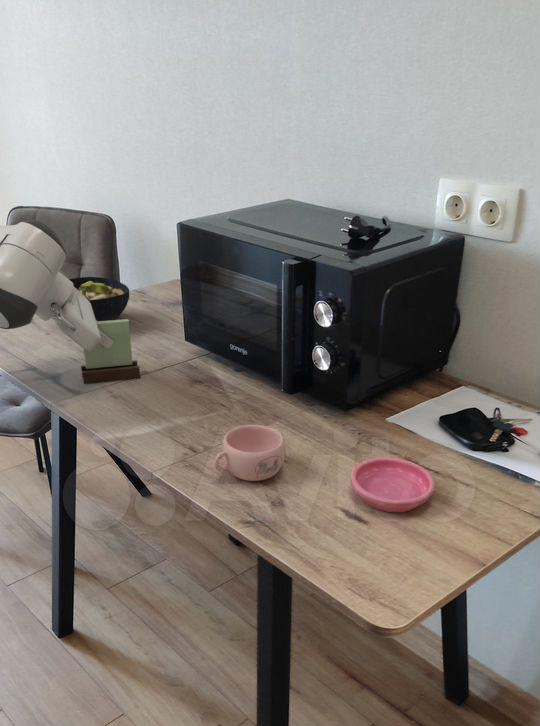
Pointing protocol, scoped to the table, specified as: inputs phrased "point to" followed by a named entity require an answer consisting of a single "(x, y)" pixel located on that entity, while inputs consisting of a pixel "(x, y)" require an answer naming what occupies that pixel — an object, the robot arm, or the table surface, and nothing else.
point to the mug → (252, 452)
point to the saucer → (392, 484)
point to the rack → (110, 373)
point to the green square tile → (117, 352)
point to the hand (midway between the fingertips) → (110, 342)
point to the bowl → (103, 296)
